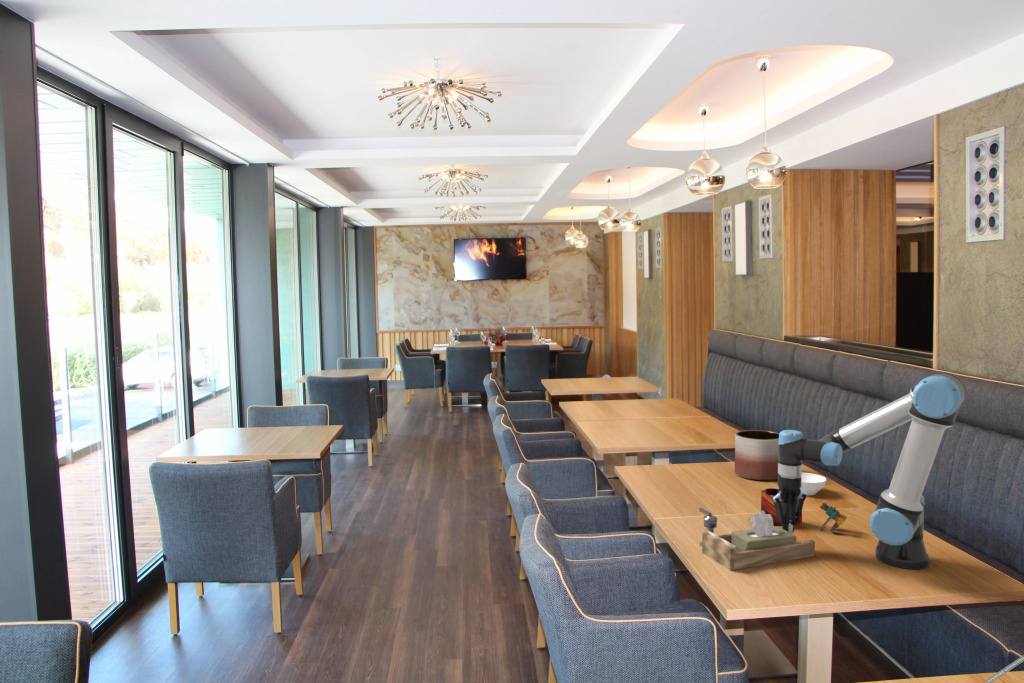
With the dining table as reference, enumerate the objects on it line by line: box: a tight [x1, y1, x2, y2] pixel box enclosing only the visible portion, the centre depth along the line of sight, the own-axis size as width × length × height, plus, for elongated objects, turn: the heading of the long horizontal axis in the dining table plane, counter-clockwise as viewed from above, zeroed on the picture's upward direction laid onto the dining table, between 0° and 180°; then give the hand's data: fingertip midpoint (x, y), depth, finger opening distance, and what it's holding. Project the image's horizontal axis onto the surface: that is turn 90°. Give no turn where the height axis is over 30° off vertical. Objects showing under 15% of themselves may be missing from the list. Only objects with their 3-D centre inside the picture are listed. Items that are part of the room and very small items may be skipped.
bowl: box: [800, 472, 827, 496], centre depth 285 cm, size 16×16×7 cm
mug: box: [760, 487, 803, 527], centre depth 249 cm, size 10×14×12 cm
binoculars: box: [819, 502, 848, 534], centre depth 241 cm, size 9×9×10 cm
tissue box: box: [731, 510, 797, 553], centre depth 219 cm, size 19×10×16 cm, turn 104°
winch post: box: [698, 507, 718, 547], centre depth 229 cm, size 8×5×12 cm, turn 18°
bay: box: [701, 526, 816, 571], centre depth 220 cm, size 15×34×8 cm, turn 108°
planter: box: [734, 429, 780, 482], centre depth 313 cm, size 22×22×20 cm
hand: (787, 542), depth 225 cm, fingers closed
